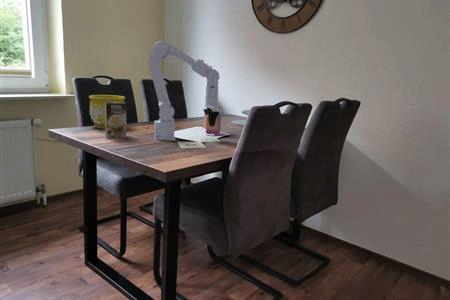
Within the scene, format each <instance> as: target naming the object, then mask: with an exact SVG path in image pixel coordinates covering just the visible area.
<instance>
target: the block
mask: <svg viewBox="0 0 450 300" xmlns="http://www.w3.org/2000/svg"><path fill="white" fill-rule="evenodd" d="M202 124H203V125H202V127H203V129H205V130H206V129H217V128H218V116H217V118H216V122H215V125H214V126H210V125H209V117H208V115H205V114H203V121H202Z"/></svg>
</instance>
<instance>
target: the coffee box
mask: <svg viewBox="0 0 450 300" xmlns="http://www.w3.org/2000/svg"><path fill="white" fill-rule="evenodd" d="M104 136H105V138H106V139H109V138H110V139H117V138H119V139H120V138H121V139H122V138H125V139H126V138H127V103H126V102H125V101H124V102H105V129H104Z"/></svg>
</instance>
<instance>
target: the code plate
mask: <svg viewBox="0 0 450 300" xmlns="http://www.w3.org/2000/svg"><path fill="white" fill-rule="evenodd" d="M203 143H204V142H202V141H177V144H178V146H179V148H180V149H207V146H205V145H204V144H203Z"/></svg>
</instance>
